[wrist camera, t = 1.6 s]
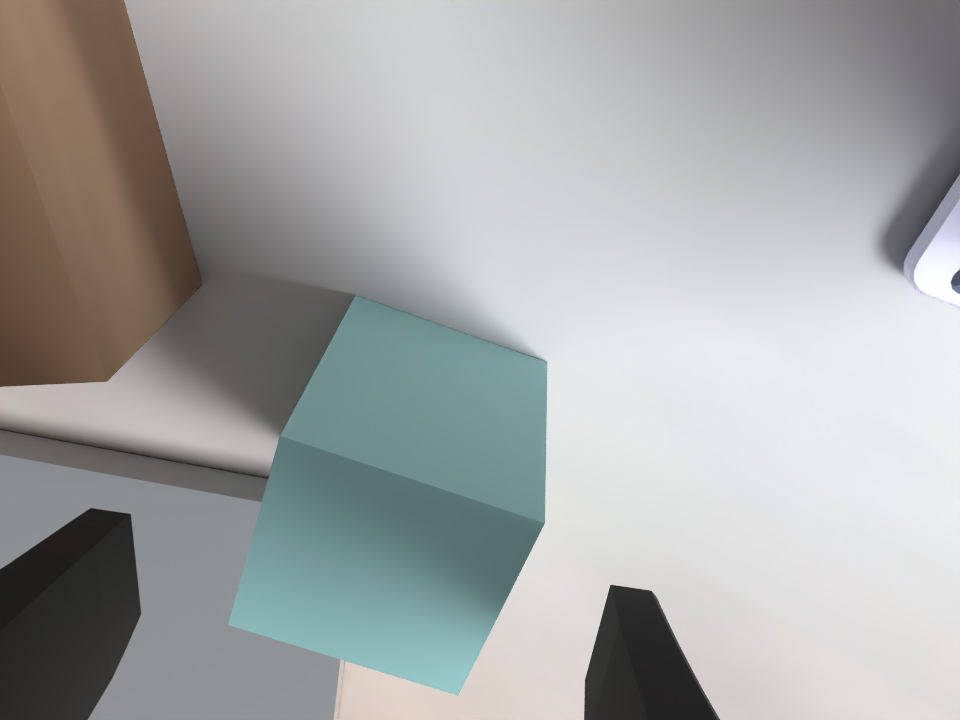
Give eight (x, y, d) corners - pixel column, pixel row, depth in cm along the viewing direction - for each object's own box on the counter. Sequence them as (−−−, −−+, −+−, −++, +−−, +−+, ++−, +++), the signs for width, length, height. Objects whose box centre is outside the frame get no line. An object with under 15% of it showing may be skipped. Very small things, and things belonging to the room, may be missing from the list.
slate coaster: (364, 496, 18) (356, 519, 17) (328, 797, 23) (321, 824, 23) (-124, 407, 18) (-152, 426, 17) (-50, 728, 23) (-69, 753, 23)
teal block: (547, 361, 16) (544, 522, 12) (481, 508, 18) (458, 695, 14) (355, 293, 16) (280, 435, 11) (308, 451, 18) (228, 624, 13)
